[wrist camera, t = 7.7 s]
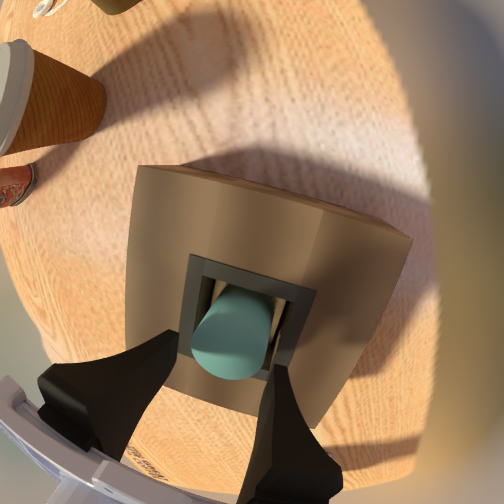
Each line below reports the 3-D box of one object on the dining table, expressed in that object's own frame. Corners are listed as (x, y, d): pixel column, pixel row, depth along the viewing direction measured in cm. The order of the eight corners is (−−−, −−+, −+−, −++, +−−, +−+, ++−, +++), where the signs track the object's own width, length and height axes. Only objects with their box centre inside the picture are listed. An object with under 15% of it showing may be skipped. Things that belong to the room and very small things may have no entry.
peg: (281, 291, 18) (273, 334, 13) (265, 340, 19) (254, 387, 14) (222, 274, 18) (195, 310, 13) (212, 323, 19) (187, 366, 15)
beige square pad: (290, 284, 18) (289, 288, 17) (271, 341, 20) (270, 345, 19) (221, 264, 18) (218, 267, 18) (209, 322, 20) (206, 326, 19)
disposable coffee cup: (63, 172, 22) (-35, 189, 11) (50, 98, 20) (-35, 91, 9) (129, 128, 20) (13, 116, 8) (112, 48, 18) (20, 11, 6)
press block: (384, 221, 18) (413, 240, 13) (314, 383, 24) (314, 429, 18) (178, 165, 20) (137, 165, 14) (156, 334, 25) (126, 369, 19)
